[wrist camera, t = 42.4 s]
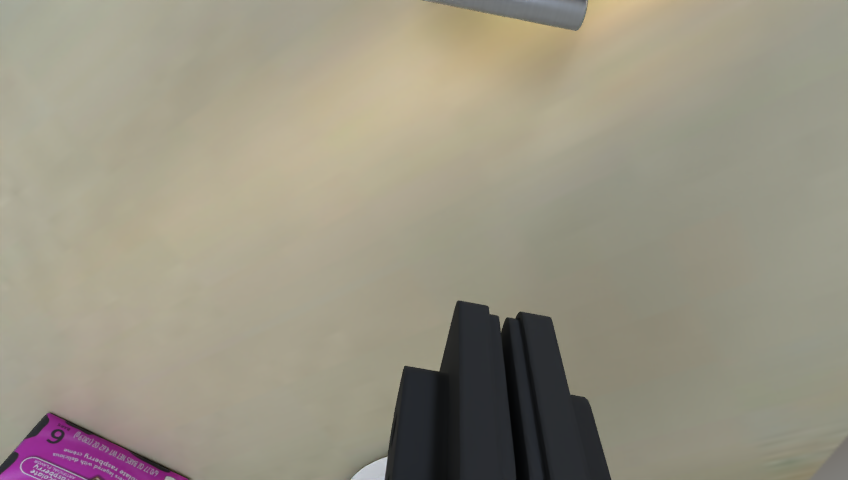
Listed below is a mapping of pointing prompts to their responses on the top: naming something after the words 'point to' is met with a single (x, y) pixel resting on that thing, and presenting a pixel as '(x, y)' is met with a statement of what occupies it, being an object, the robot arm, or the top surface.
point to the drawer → (529, 10)
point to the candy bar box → (76, 457)
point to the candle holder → (372, 471)
